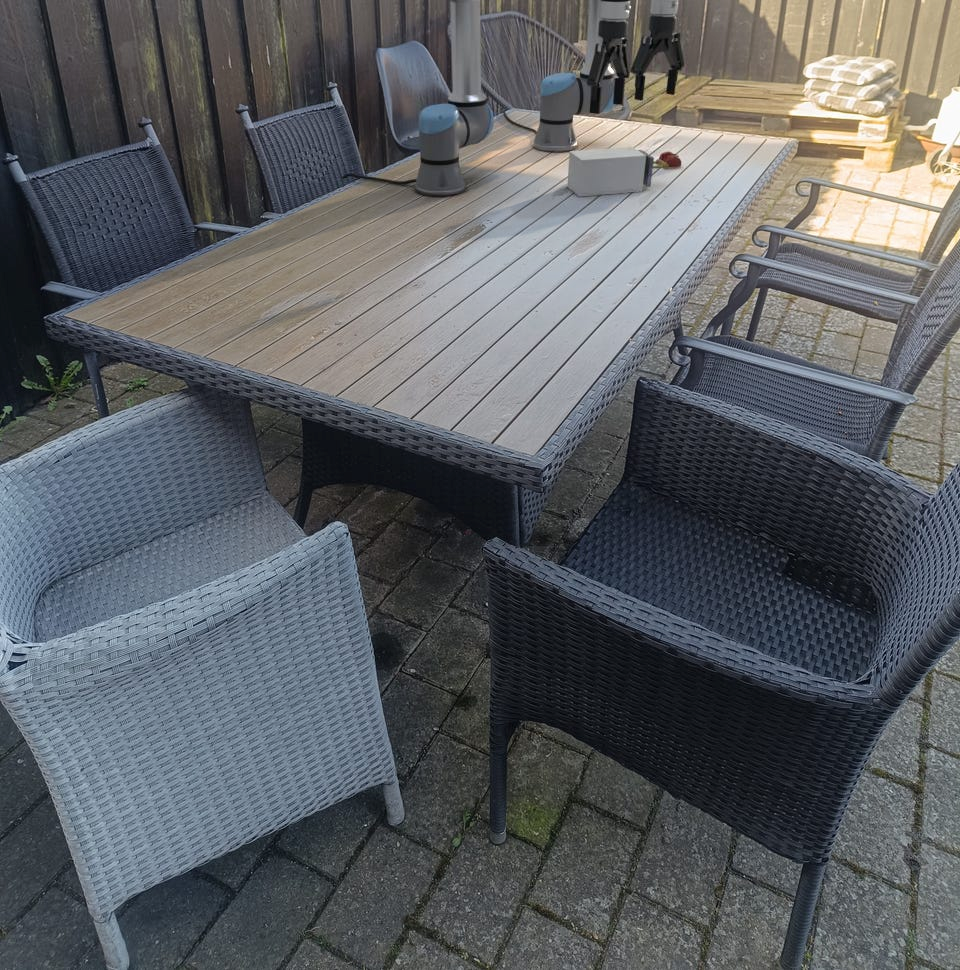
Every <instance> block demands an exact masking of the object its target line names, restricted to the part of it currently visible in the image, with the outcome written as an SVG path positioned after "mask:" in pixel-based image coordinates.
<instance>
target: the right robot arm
mask: <svg viewBox="0 0 960 970" xmlns="http://www.w3.org/2000/svg"><path fill="white" fill-rule="evenodd" d="M600 1H601V0H589V4H588V5H589V6H588V18H587V19H588V20H587V29H586V30H587V31H586V45H585V59H584V61H585V62H584V66H583V67H582V68H581V69H580V71H579V77H576V74H575V73H572V72H560V73H553V74H550V75H548V76H546V77H544V78H543V79H542V81H541V85H540V92H539V95H540V105H539V107H540V108H539V110H540V111H539V125H538V127H537V130H536V129H534V128H531V127H528V126H525V125H523V124H520V123H517V122H515V121H513V120H512V119H510V117H508V115H507V113H506V111H504V110H503V111H502V113H503V115H504V117H505V119H506V120H507V121H508V122H510V123H511V124H512V125H515V126H517V127H519V128H522V129H524V130H528V131H530V132H533V133H535V136H534V140H533V148H534V149H536V150H538V151H543V152H550V153H563V152H570V151H574V150H575V149H577V145H578V144H577V143H578V141H577V135H576V132H575V129H574V128H575V127H574V116H576V115H591V114H592V115H593V114H594V113H590V99H591V86H588V85H587V80H588V76H589V73H590V69H591V65H592V61H593V58H594V54H595V46H596V44H597V43H598V44H602V41H603V38H602V37H599V36H598V28H599V22H600V20H601V18H600V17H599V13H600ZM678 7H679V0H651V1H650V10H649V13H650V14H651V15H650V16H649V19H648V31H650V33H649V36H647V35H642V36H641V39H640V46H639V48H638V50H637V52H636V55H635V58H634V60H633V63H632V65H631V67H630V73H631V74H632V75H634V76H635V77H634V100H635V101H640V102H641V101H644V96H645V95H644V94H645V86H646V85H645V84H646V75H644V74H645V73H646V71H647V69H648V68H649V65H651V62H652V61H653V59H654V57H655V56H657V54H659V53H664V55H665V58H666V60H667V63H668V64H669V65H668V66H669V67H670V69H668V73H667V81H666V90H665V94H666V95H671V96H674V95H675V93H676V86H677V85H676V84H677V81H678V77H679V71H682V68H684V67H685V59H684V55H683V50H682V44H681V32H675V31H676V27H677V19H678V18H677V14H678V10H679V9H678ZM599 54H600V53H599ZM615 78H618V77H617V76H615V71H614V69H613V68H612V67H611V63H610V64H609V65H608V67H607V70H606V72H605V75H604V77H603V80H602V82H601V85H600V87H602V93H601V106H600V114H605V113H609V112H611V111H612V110H613V109H614V107H615V106H616V104H613V98H614V86H615Z"/></svg>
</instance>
